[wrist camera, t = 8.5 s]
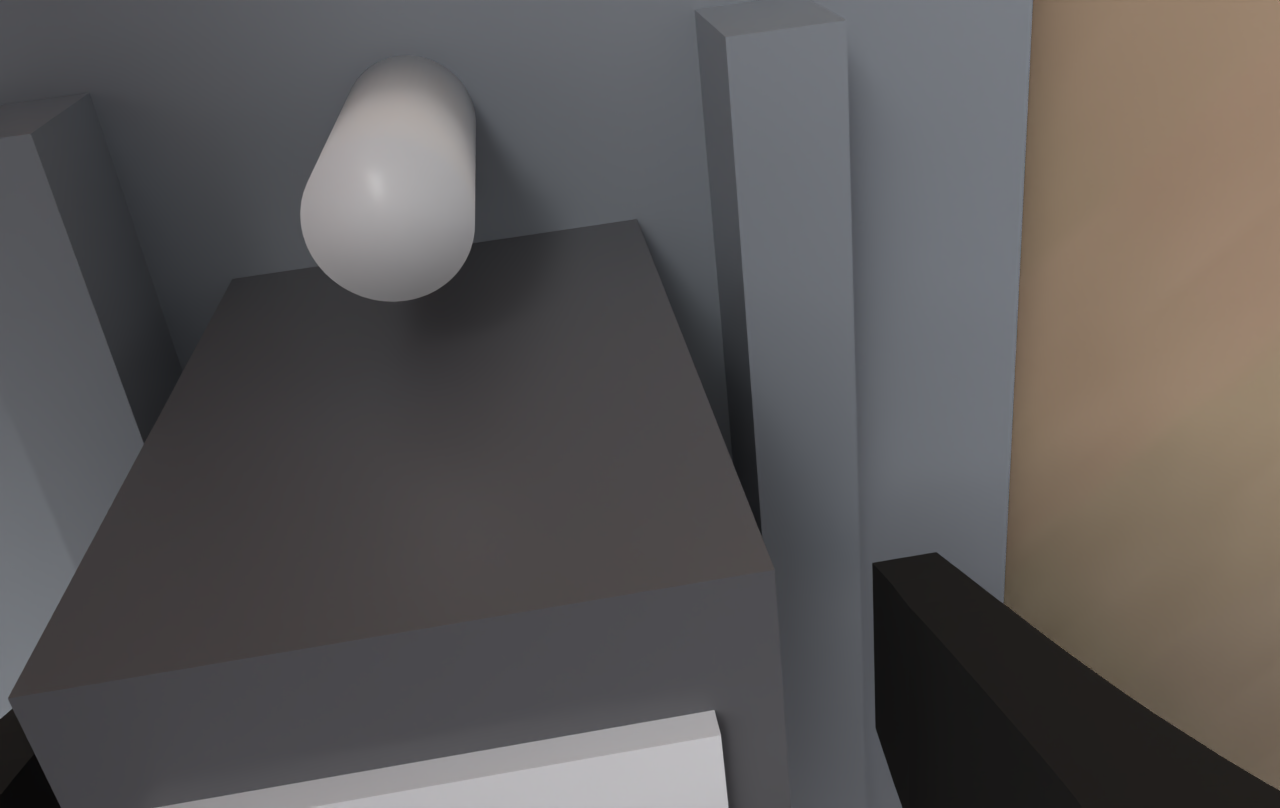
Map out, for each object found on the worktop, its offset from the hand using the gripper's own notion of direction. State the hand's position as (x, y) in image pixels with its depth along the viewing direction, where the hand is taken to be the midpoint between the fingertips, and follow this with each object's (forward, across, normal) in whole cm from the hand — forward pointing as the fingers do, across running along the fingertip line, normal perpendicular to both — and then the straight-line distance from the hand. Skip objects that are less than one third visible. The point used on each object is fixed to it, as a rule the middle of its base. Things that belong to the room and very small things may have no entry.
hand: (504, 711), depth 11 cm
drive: (+3, 0, 0) cm, 3 cm away
